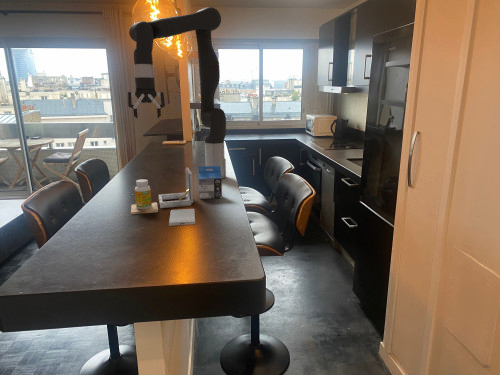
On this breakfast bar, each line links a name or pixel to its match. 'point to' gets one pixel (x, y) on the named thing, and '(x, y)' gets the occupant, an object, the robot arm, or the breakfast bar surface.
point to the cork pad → (140, 211)
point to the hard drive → (182, 217)
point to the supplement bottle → (143, 194)
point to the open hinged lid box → (179, 195)
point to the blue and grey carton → (210, 182)
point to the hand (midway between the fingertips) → (147, 118)
